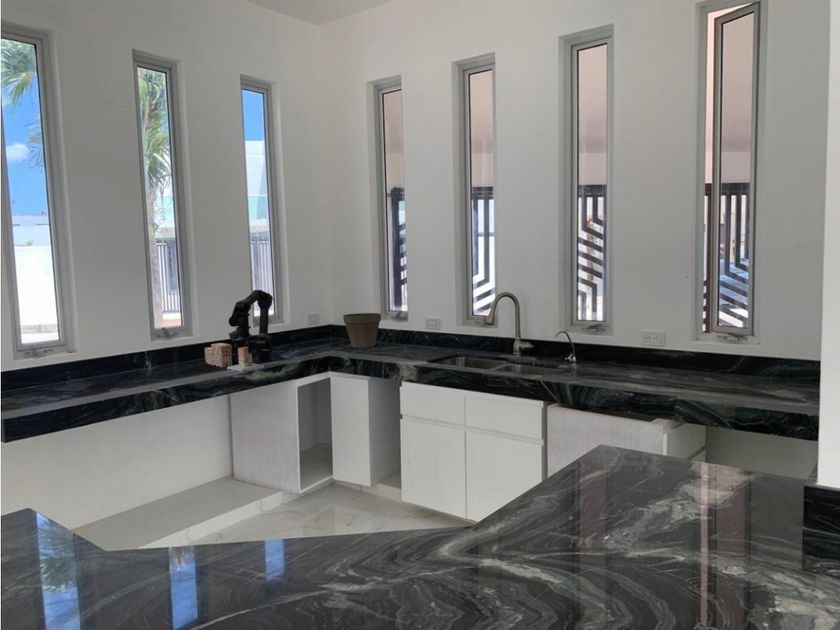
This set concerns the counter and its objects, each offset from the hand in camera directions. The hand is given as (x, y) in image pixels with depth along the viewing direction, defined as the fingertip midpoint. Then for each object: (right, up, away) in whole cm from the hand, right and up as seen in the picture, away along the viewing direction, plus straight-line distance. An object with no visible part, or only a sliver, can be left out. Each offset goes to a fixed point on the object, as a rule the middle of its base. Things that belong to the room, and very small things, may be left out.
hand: (245, 353), depth 365 cm
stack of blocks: (-19, -8, +17) cm, 27 cm away
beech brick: (0, -7, +1) cm, 7 cm away
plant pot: (+58, 0, +74) cm, 95 cm away
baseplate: (0, -8, +1) cm, 8 cm away
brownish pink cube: (0, -2, 0) cm, 2 cm away
